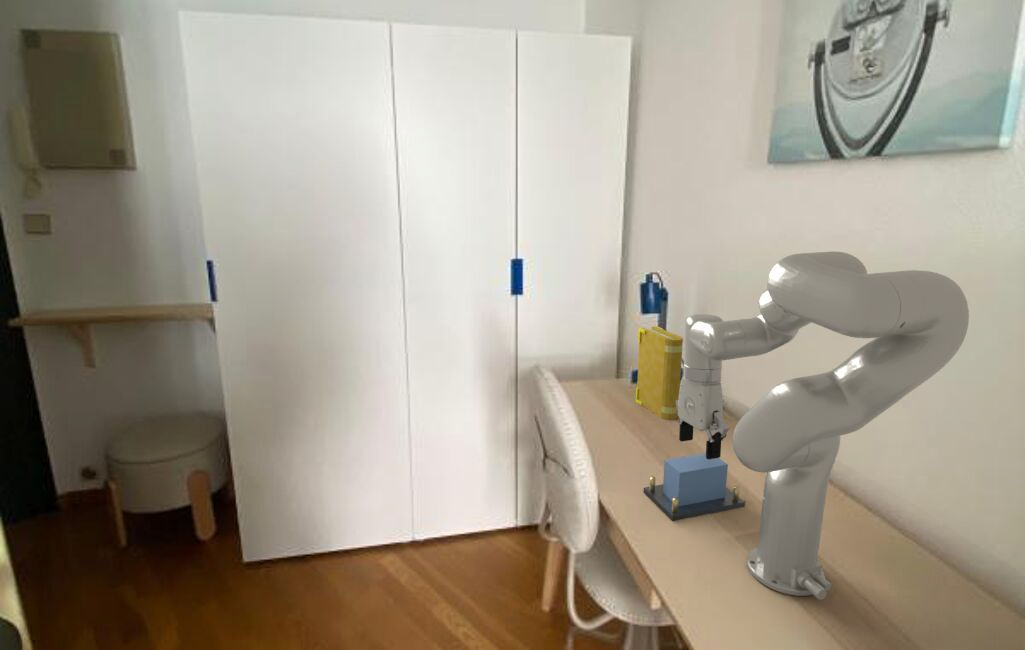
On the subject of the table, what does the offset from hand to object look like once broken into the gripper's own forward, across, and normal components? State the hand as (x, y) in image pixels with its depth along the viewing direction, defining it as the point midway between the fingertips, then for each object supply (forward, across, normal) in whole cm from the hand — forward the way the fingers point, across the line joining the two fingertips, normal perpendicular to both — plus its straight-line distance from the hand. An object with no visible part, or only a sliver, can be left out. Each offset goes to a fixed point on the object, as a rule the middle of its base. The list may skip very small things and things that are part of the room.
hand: (699, 448), depth 119 cm
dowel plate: (+13, -1, 0) cm, 13 cm away
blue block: (+12, -1, 0) cm, 12 cm away
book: (+11, -50, +20) cm, 55 cm away
